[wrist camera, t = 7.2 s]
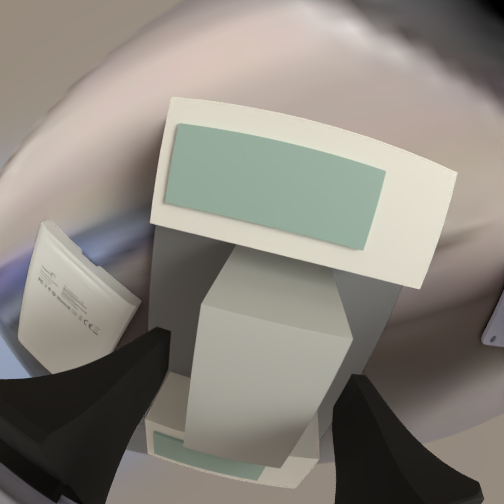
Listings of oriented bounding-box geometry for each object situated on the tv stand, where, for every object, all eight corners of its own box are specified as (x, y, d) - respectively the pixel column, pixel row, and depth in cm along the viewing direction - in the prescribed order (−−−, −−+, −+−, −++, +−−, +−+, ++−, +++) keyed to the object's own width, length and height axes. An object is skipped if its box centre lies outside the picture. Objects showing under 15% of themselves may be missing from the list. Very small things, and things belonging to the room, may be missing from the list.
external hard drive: (26, 329, 20) (54, 216, 16) (93, 390, 20) (147, 297, 16) (15, 337, 18) (38, 222, 14) (84, 402, 19) (134, 310, 15)
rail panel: (428, 175, 12) (491, 189, 7) (316, 433, 18) (318, 492, 13) (182, 112, 12) (126, 93, 8) (153, 394, 18) (124, 447, 13)
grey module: (329, 261, 13) (354, 339, 7) (287, 377, 15) (281, 468, 9) (238, 239, 13) (199, 303, 7) (214, 360, 15) (181, 446, 10)
